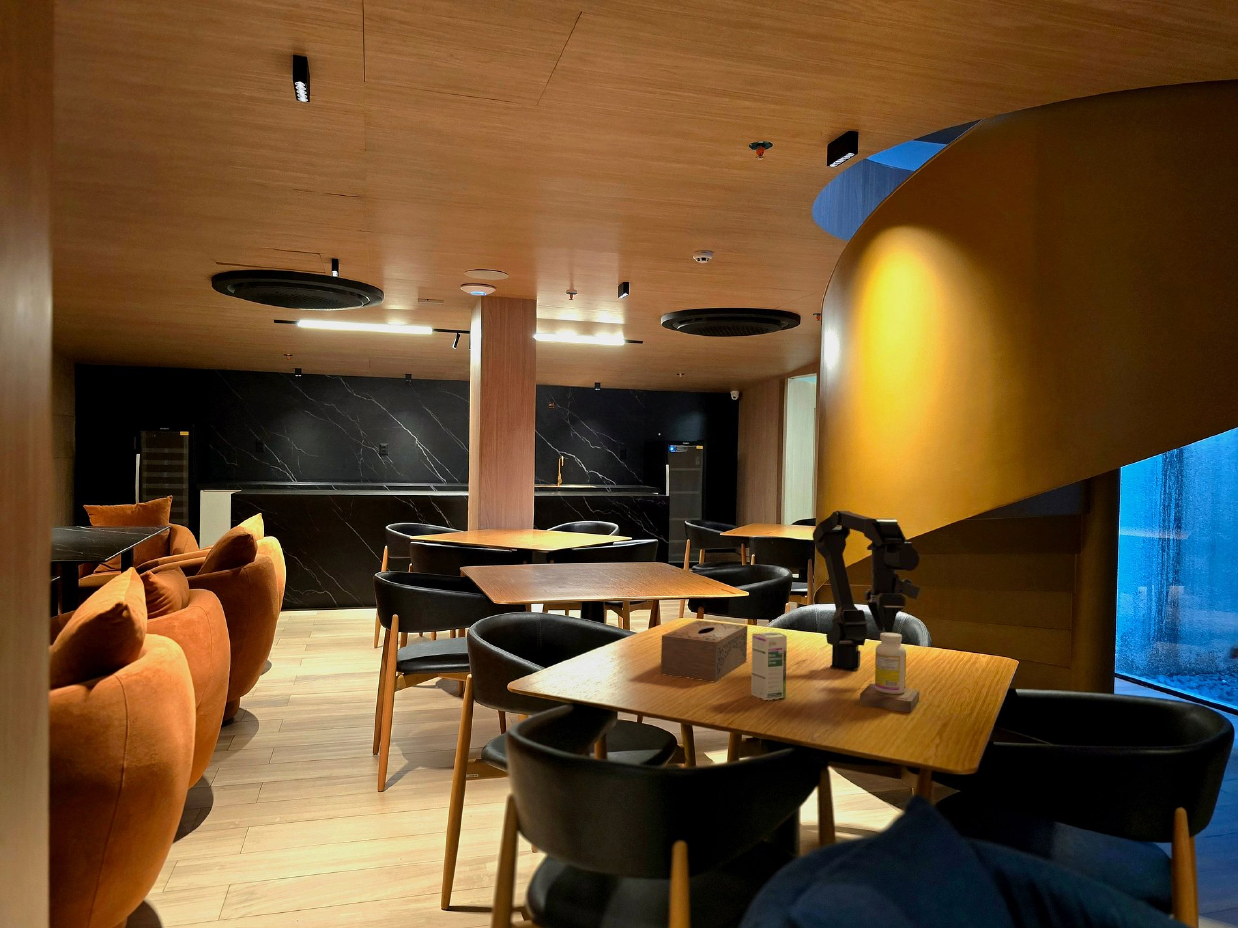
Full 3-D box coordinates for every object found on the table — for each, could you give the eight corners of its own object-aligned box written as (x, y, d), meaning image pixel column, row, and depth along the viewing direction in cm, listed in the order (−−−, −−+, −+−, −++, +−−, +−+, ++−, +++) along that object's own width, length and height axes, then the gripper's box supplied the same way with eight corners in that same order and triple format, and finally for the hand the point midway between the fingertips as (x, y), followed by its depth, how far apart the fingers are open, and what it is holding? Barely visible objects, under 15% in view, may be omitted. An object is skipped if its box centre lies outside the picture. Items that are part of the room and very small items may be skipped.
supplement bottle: (889, 685, 197) (890, 630, 197) (911, 692, 191) (913, 635, 191) (868, 688, 194) (869, 632, 194) (890, 696, 188) (891, 638, 188)
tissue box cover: (715, 683, 206) (716, 642, 206) (660, 675, 212) (661, 635, 212) (746, 662, 229) (747, 625, 229) (696, 656, 236) (697, 620, 236)
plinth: (859, 704, 190) (860, 692, 190) (870, 693, 199) (870, 682, 199) (910, 712, 185) (911, 700, 185) (919, 701, 194) (919, 689, 194)
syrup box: (765, 701, 190) (767, 636, 190) (750, 694, 195) (752, 631, 196) (786, 698, 193) (788, 635, 193) (770, 692, 198) (771, 630, 198)
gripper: (927, 571, 200) (928, 638, 199) (907, 567, 219) (908, 628, 218) (879, 570, 201) (880, 637, 200) (863, 567, 220) (864, 628, 219)
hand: (884, 632), depth 209 cm, fingers open, 9 cm apart
